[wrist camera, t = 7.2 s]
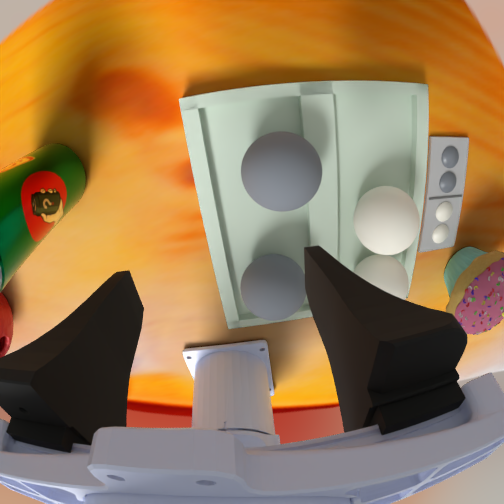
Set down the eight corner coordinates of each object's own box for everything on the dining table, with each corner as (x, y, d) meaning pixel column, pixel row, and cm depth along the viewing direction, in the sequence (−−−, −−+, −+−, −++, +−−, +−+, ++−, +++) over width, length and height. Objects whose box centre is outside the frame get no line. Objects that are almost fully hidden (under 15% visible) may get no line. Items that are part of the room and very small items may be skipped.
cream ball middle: (397, 230, 23) (426, 262, 19) (343, 238, 23) (365, 274, 19) (402, 174, 20) (436, 199, 16) (343, 179, 20) (370, 206, 16)
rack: (401, 289, 27) (407, 297, 26) (228, 318, 27) (228, 329, 26) (418, 83, 17) (427, 84, 16) (182, 97, 17) (178, 99, 16)
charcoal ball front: (288, 188, 21) (339, 206, 18) (232, 210, 19) (280, 234, 16) (282, 123, 19) (337, 129, 16) (220, 137, 17) (270, 145, 14)
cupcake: (501, 239, 25) (573, 311, 15) (465, 303, 29) (519, 382, 19) (452, 221, 23) (539, 308, 13) (412, 298, 28) (470, 395, 17)
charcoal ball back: (301, 287, 25) (313, 328, 21) (243, 296, 25) (246, 338, 21) (298, 237, 23) (313, 274, 19) (234, 246, 23) (236, 286, 19)
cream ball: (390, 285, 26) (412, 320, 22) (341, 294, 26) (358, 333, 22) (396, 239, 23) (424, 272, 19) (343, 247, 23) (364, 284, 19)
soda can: (56, 127, 17) (-67, 192, 7) (102, 175, 20) (6, 277, 9) (22, 175, 19) (-82, 261, 8) (64, 219, 21) (-20, 328, 11)
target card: (452, 244, 25) (454, 246, 24) (417, 250, 25) (419, 253, 24) (466, 137, 19) (469, 138, 19) (429, 136, 19) (432, 137, 19)
